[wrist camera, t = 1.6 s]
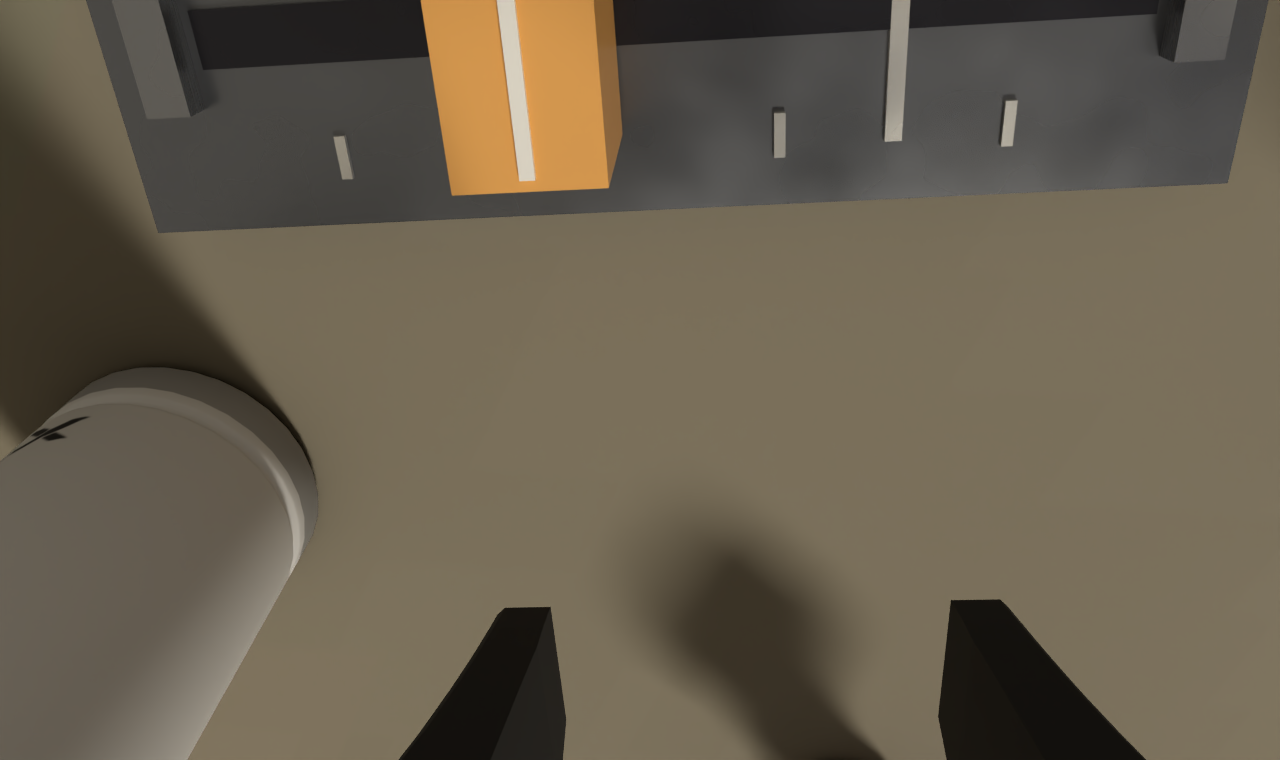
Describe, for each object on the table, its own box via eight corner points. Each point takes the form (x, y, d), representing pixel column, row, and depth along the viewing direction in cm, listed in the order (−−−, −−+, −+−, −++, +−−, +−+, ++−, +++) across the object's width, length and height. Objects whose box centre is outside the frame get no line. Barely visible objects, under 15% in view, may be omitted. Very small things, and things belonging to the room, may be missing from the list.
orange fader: (604, -117, 16) (583, -109, 13) (622, 133, 18) (607, 189, 15) (456, -106, 16) (403, -96, 13) (490, 140, 18) (450, 197, 15)
